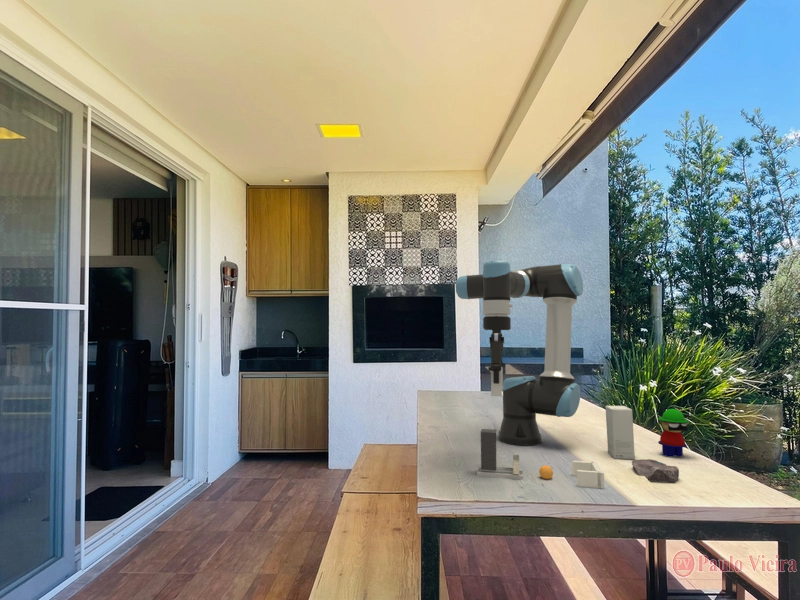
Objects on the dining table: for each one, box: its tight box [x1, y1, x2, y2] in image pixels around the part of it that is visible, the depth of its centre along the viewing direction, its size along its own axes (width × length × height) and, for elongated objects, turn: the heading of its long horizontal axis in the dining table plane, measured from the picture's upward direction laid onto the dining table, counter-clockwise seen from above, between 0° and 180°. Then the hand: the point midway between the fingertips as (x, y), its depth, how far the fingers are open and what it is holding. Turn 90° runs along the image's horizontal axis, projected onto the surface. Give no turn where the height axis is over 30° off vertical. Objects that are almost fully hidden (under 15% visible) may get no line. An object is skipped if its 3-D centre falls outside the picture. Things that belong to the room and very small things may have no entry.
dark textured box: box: [480, 428, 520, 475], centre depth 124 cm, size 10×6×12 cm, turn 77°
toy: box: [657, 408, 691, 458], centre depth 147 cm, size 9×9×15 cm
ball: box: [538, 465, 554, 480], centre depth 121 cm, size 4×4×4 cm
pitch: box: [476, 465, 524, 480], centre depth 122 cm, size 34×14×2 cm, turn 77°
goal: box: [571, 460, 605, 489], centre depth 119 cm, size 6×10×4 cm, turn 166°
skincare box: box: [605, 405, 636, 460], centre depth 147 cm, size 8×7×16 cm
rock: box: [631, 458, 680, 483], centre depth 125 cm, size 8×11×5 cm
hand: (497, 392), depth 126 cm, fingers open, 13 cm apart
